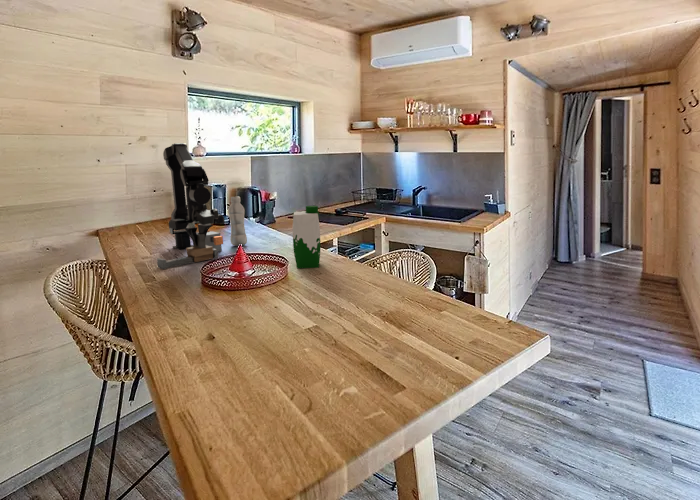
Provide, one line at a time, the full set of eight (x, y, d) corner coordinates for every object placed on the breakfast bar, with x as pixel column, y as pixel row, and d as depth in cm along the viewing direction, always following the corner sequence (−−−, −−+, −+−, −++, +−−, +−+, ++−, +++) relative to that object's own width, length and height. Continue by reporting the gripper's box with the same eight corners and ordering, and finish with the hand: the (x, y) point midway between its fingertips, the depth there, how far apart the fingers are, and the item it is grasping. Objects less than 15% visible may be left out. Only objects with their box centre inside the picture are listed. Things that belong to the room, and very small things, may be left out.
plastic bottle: (243, 247, 189) (240, 198, 184) (228, 247, 190) (224, 198, 186) (250, 244, 195) (246, 196, 190) (234, 244, 196) (231, 196, 192)
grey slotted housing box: (197, 251, 183) (196, 234, 182) (213, 248, 188) (212, 231, 187) (205, 253, 179) (204, 235, 178) (221, 250, 184) (220, 233, 183)
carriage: (187, 259, 168) (184, 234, 166) (204, 256, 173) (202, 231, 171) (196, 262, 164) (193, 236, 162) (213, 258, 169) (211, 233, 167)
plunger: (206, 243, 181) (205, 235, 181) (213, 241, 184) (212, 234, 183) (216, 245, 177) (215, 237, 176) (223, 244, 179) (222, 236, 178)
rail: (157, 267, 159) (156, 258, 159) (211, 256, 174) (211, 248, 174) (163, 269, 157) (162, 260, 156) (217, 257, 172) (217, 249, 171)
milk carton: (321, 268, 154) (319, 207, 149) (293, 269, 153) (290, 208, 149) (320, 261, 162) (318, 204, 158) (294, 263, 162) (291, 205, 157)
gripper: (181, 206, 152) (186, 252, 156) (231, 200, 166) (234, 243, 169) (165, 203, 160) (170, 248, 163) (214, 198, 173) (217, 240, 176)
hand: (199, 245), depth 168 cm, fingers closed on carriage, 2 cm apart
